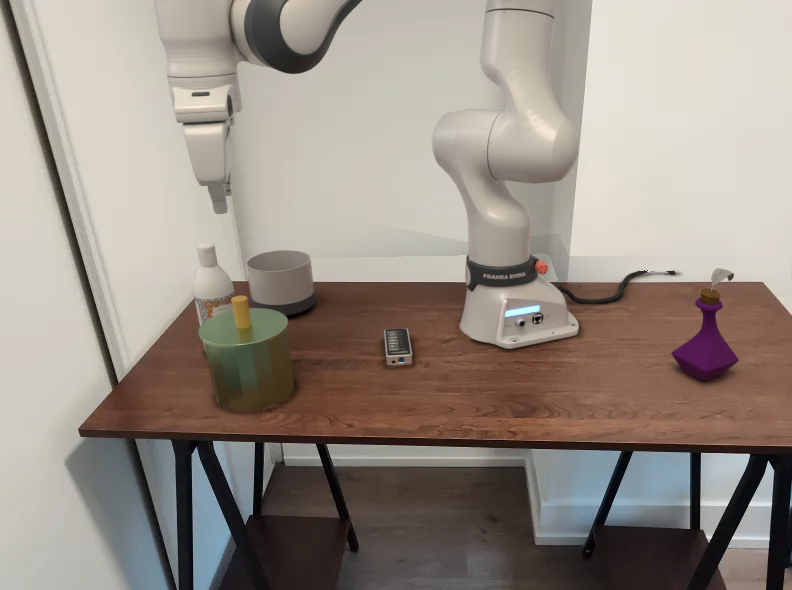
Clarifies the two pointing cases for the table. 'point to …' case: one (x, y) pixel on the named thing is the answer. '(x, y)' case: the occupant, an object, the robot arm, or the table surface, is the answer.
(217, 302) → the bath foam
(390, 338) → the multiport hub
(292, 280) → the planter
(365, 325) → the table surface
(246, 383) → the tin
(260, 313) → the tin lid
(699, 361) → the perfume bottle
